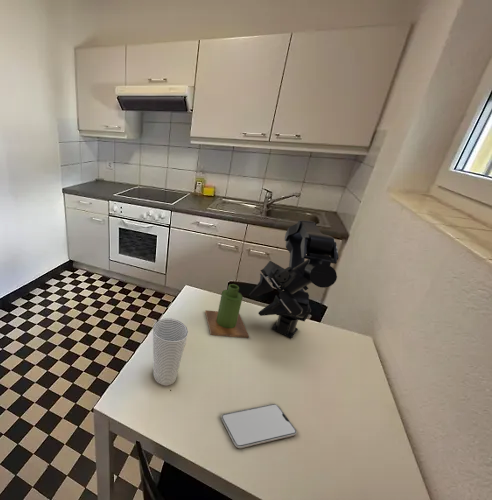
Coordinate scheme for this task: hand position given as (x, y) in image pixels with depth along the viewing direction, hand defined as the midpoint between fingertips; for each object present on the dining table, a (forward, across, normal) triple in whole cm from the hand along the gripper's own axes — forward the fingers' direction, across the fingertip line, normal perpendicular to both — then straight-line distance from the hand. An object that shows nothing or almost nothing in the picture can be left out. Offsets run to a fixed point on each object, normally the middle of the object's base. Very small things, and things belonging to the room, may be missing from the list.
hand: (254, 305), depth 83 cm
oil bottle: (+12, -7, +6) cm, 15 cm away
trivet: (+13, -7, +6) cm, 16 cm away
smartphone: (+13, +28, +6) cm, 32 cm away
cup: (+28, +17, -8) cm, 34 cm away
